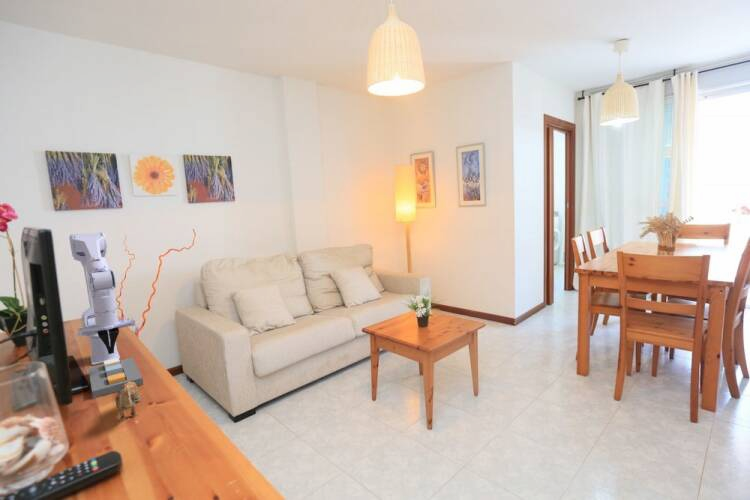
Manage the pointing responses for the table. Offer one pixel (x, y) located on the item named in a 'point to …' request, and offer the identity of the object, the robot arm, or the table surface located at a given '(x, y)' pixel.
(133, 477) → the table surface
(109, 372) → the slate-blue button
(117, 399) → the lion figurine
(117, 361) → the cream button
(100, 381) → the button board
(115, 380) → the orange button
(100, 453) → the table surface
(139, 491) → the table surface
